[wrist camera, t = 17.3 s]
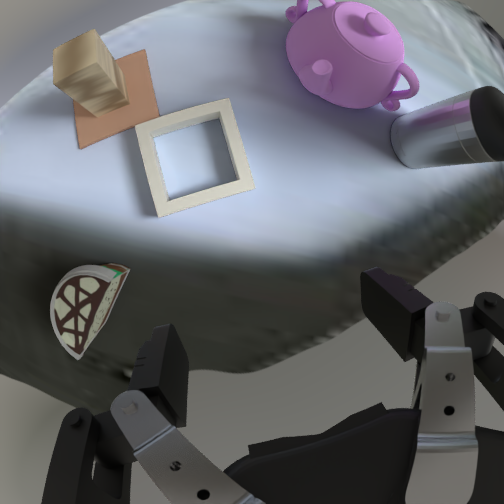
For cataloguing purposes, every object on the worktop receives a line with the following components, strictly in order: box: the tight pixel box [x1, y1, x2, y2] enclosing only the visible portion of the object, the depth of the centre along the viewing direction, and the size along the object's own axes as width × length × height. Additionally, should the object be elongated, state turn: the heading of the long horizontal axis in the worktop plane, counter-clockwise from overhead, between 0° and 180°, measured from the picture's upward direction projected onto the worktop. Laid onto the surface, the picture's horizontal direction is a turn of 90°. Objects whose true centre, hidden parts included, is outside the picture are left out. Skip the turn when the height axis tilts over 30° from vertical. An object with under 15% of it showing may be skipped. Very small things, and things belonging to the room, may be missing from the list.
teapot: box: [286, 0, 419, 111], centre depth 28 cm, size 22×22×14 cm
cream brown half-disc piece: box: [50, 263, 131, 360], centre depth 30 cm, size 12×6×10 cm, turn 148°
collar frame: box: [135, 98, 255, 218], centre depth 33 cm, size 12×12×3 cm
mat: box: [73, 49, 160, 149], centre depth 31 cm, size 12×12×1 cm
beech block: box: [53, 29, 130, 117], centre depth 24 cm, size 5×5×13 cm
